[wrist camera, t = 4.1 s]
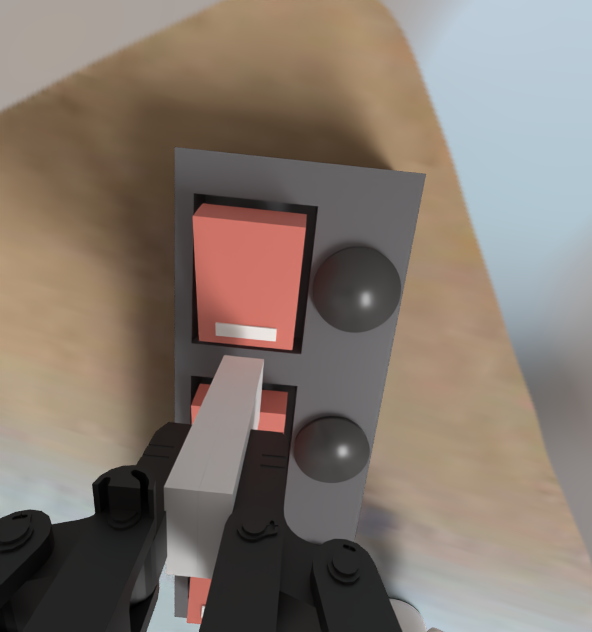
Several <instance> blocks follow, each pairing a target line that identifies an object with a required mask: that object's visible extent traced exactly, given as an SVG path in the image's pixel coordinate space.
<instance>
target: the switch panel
mask: <svg viewBox="0 0 592 632" xmlns="http://www.w3.org/2000/svg"><path fill="white" fill-rule="evenodd" d="M425 177H426V174H422V173H413V172H403V171H394V170H385V169H375V168H366V167H357V166H347V165H338V164H329V163H319V162H310V161H301V160H291V159H282V158H273V157H263V156H254V155H245V154H235V153H226V152H217V151H207V150H198V149H189V148H179V147H175V423H183V424H192V415H191V404H192V402H193V400H194V397H195V395H196V392H197V390H198V387H199V385H200V384H210V385H211V383H212V381H213V379H214V376H215V374H216V372H217V370H218V368H219V365H220V363H221V361H222V359H223V357H224V355H228V356H237V357H247V358H257V359H264V366H263V379H262V390H271V391H281V392H288V395H287V407H286V418H285V427H284V436H285V438H286V440H287V442H288V458H287V473H286V487H285V501H284V517H285V520H286V522H287V525H288V526H289V527H290V529H291V530H292V531H293V532H294V533H295V534H296V535H297V536H298V537H300V538H302V539H304V540H305V541H308V542H310V543H312V544H315V545H317V546H319V547H320V546H321V545H322V544H323V543H324V542H326V541H329V540H332V539H347V540H350V541H352V542H354V539H355V534H356V529H357V524H358V519H359V514H360V509H361V504H362V499H363V494H364V488H365V483H366V478H367V473H368V468H369V463H370V458H371V453H372V448H373V442H374V437H375V432H376V427H377V422H378V417H379V412H380V407H381V402H382V396H383V391H384V386H385V381H386V376H387V371H388V366H389V361H390V356H391V350H392V345H393V340H394V335H395V330H396V325H397V320H398V315H399V310H400V304H401V299H402V294H403V289H404V284H405V279H406V274H407V269H408V264H409V259H410V253H411V248H412V243H413V238H414V233H415V228H416V223H417V218H418V213H419V207H420V202H421V197H422V192H423V187H424V182H425ZM203 203H204V204H213V205H223V206H232V207H242V208H252V209H261V210H271V211H280V212H290V213H299V214H307V217H306V231H305V240H304V249H303V258H302V267H301V276H300V285H299V294H298V303H297V312H296V321H295V330H294V339H293V348H292V350H286V349H276V348H266V347H256V346H246V345H236V344H226V343H216V342H206V341H199V330H198V311H197V292H196V272H195V253H194V234H193V215H194V213H195V212H196V211H197V210H198V209H199V207H200V206H201V205H202V204H203ZM190 578H191V577H188V576H178V575H175V617H183V618H187V613H188V602H189V590H190Z"/></svg>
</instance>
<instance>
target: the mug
mask: <svg viewBox="0 0 592 632" xmlns="http://www.w3.org/2000/svg"><path fill="white" fill-rule="evenodd" d="M389 600H390V602H391V605H392V607H393V610H394V612H395V614H396V617H397V619H398V622H399V624H400V627H401V629H402V631H403V632H443V631H441V630H439V629H437V628H430V629H429V630H428V631H427V628H426V625H425V622H424V620H423V618H422V616H421V614H420V613H419V612H418V611H417V610H416V609H415V608H414V607H412V606H411V605H409V604H407V603H405V602H403V601H400V600H396V599H390V598H389Z"/></svg>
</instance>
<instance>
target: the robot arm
mask: <svg viewBox="0 0 592 632" xmlns="http://www.w3.org/2000/svg"><path fill="white" fill-rule="evenodd" d="M263 366H264V359H257V358H247V357H237V356H228V355H224V357H223V359H222V361H221V363H220V365H219V368H218V370H217V372H216V374H215V376H214V379H213V381H212V383H211V385H210V387H209V389H208V392H207V394H206V396H205V398H204V400H203V403H202V405H201V407H200V409H199V411H198V414H197V416H196V418H195V420H194V422H193V424H183V423H173V422H168V423H167V424H165V425H164V426H163V427H162V428H160V429H159V430H158V431H156V432H155V434H154V436H153V438H152V439H151V441H150V443H149V446H147V448H146V450H145V451H144V453H143V456H142V457H141V458H140V460H139V461H138V463H137V465H130V466H121V467H118V468H114V469H111V470H109V471H108V472H106V473H104V474H102V475H101V476H99V478H98V479H97V480H96V481H95V482H94V483H93V484H92V487H93V496H94V506H95V514H94V515H93V516H90V517H88V518H84V519H80V520H75V521H69V522H63V523H58V524H51V521H50V518H49V516H48V515H47V514H45V513H44V512H42V511H37V510H24V511H18V512H15V513H12V514H10V515H7V516H5V517H2V518H0V632H146V631H147V628H148V625H149V622H150V620H151V617H152V614H153V611H154V608H155V605H156V602H157V599H158V593H159V577H160V575H161V572H162V569H163V566H164V564H165V561H166V574H168V575H178V576H188V577H197V578H207V579H212V580H211V584H210V588H209V592H208V596H207V600H206V605H205V609H204V613H203V617H202V621H201V625H200V629H199V632H403V631H402V629H401V627H400V624H399V622H398V619H397V617H396V614H395V612H394V610H393V607H392V605H391V602H390V600H389V598H388V595H387V593H386V590H385V588H384V585H383V583H382V581H381V578H380V576H379V573H378V571H377V568H376V566H375V564H374V562H373V560H372V558H371V557H370V555H369V554H368V552H367V551H366V550H364V549H363V548H362V547H361V546H360V545H358V544H357V543H354V542H352V541H350V540H347V539H332V540H329V541H326V542H324V543H323V544H322V545H321V546H320V547H319V546H317V545H315V544H312V543H310V542H308V541H305V540H304V539H302V538H300V537H298V536H297V535H296V534H295V533H294V532H293V531H292V530H291V529H290V527H289V526H288V525H287V522H286V520H285V517H284V501H285V487H286V473H287V458H288V442H287V440H286V438H285V436H284V434H283V432H274V431H264V430H257V429H258V424H259V418H260V405H261V392H262V379H263Z"/></svg>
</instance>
